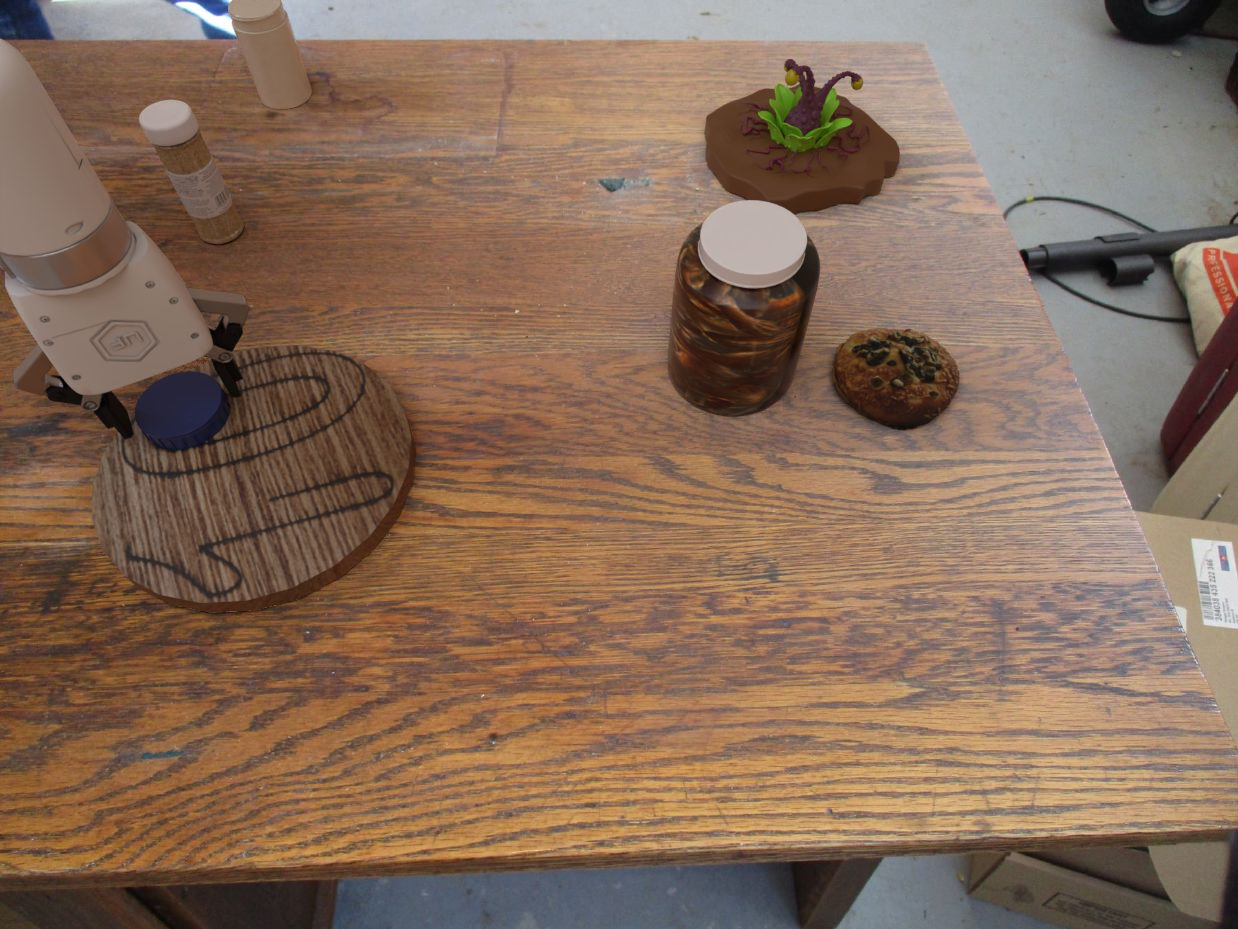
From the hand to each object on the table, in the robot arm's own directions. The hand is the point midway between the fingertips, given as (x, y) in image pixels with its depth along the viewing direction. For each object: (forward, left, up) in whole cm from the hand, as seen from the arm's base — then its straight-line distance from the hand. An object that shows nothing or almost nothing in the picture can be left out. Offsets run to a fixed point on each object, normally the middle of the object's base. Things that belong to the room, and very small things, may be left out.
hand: (180, 404), depth 68 cm
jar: (+30, +36, -4) cm, 47 cm away
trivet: (+8, +1, -4) cm, 9 cm away
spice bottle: (-20, +16, -4) cm, 26 cm away
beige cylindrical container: (-35, +35, -3) cm, 50 cm away
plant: (+17, +65, -4) cm, 67 cm away
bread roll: (+42, +44, -4) cm, 61 cm away
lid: (0, 0, 0) cm, 0 cm away
